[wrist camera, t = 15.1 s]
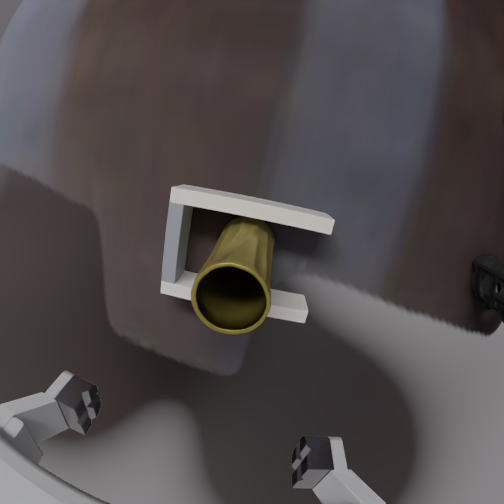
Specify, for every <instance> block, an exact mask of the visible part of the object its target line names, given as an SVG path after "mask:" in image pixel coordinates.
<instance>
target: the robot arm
mask: <svg viewBox="0 0 504 504" xmlns="http://www.w3.org/2000/svg"><path fill="white" fill-rule="evenodd" d="M97 392H98V388H97V386H96V385H94V384H92V383H90V382H88V381H86V380H84V379H82V378H80V377H77V376H76V375H74V374H72V373H70V372H67V371H65V372H63V373H62V374H61V375H60V376H59V377H58V378H57V379H56V381H55V382H54V383H53V384H52V385H51V386H50V388H49V389H48V390H47V391H46V393H43V392H41V393H37V394H34V395H31V396H27V397H25V398H21V399H17V400H14V401H10V402H7V403H3V404H0V504H110V503H107V502H105V501H103V500H101V499H98V498H96V497H94V496H92V495H90V494H88V493H86V492H84V491H82V490H80V489H78V488H76V487H75V486H73V485H71V484H69V483H68V482H66V481H64V480H62V479H61V478H59V477H57V476H56V475H54V474H52V473H51V472H49V471H48V470H46V469H45V468H43V467H42V466H40V465H39V464H38V463H39V461H40V460H41V458H42V456H43V452H42V450H41V449H40V447H39V446H38V445H37V443H39V442H41V441H43V440H45V439H47V438H49V437H52V436H54V435H56V434H58V433H60V432H62V431H64V430H66V429H68V427H70V428H71V429H73V430H76V431H77V432H80V433H82V434H84V435H86V433H87V431H88V430H89V428H90V427H91V425H92V423H91V419H93V418H96V417H97V415H98V413H99V411H100V408H101V400H100V397H99V396H98V395H97ZM292 467H293V468H294V469H295V471H294V472H293V474H292V488H309V489H312V490H313V491H314V492H315V494H316V495H317V497H318V498H319V500H320V501H321V502H322V503H323V504H386V503H385V502H384V501H383V500H382V499H381V498H380V497H379V496H378V495H377V494H375V492H373V491H372V490H371V489H370V488H369V487H368V486H367V485H366V484H365V483H364V482H363V481H362V480H361V479H360V478H359V477H358V476H357V475H356V474H355V473H354V472H353V471H352V470H348V469H347V463H346V458H345V453H344V448H343V442H342V439H341V438H340V437H325V436H323V437H322V436H302V437H301V439H300V444H299V445H297V446H296V447H295V449H294V451H293V454H292Z"/></svg>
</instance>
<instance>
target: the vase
mask: <svg viewBox="0 0 504 504" xmlns="http://www.w3.org/2000/svg"><path fill="white" fill-rule="evenodd" d="M274 247H275V239H274V235H273V233H272V231H271V229H270V227H269V226H268V225H267V224H266V223H265V222H264V221H262V220H260V219H255V218H251V217H246V216H242V217H238V218H235V219H233V220H231V221H230V222H229V223H228V224H227V225H226V226H225V227H224V228H223V230H222V233H221V235H220V238H219V239H218V242H217V244H216V246H215V248H214V250H213V252H212V253H211V255H210V256H209V258H208V260H207V261H206V262H205V264H204V265H203V267H202V268H201V270H200V271H199V273H198V274H197V276H196V278H195V281H194V284H193V287H192V290H191V301H192V305H193V308H194V310H195V312H196V314H197V316H198V317H199V319H200V320H201V321H202V322H203V323H204V324H205V325H207V326H208V327H210V328H211V329H213V330H215V331H217V332H221V333H225V334H242V333H246V332H250V331H252V330H254V329H255V328H257V327H258V326H259V325H261V324H262V322H263V321H264V320H265V318H266V317H267V315H268V313H269V310H270V307H271V269H272V258H273V251H274Z"/></svg>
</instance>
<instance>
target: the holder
mask: <svg viewBox="0 0 504 504" xmlns="http://www.w3.org/2000/svg"><path fill="white" fill-rule="evenodd" d="M473 262H474V268H475V275H474V287H475V300H476V301H477V302H479V303H480V304H481V305H482V306H484V307H485V308H486V309H487V310H490V309H495V310H496V311H498V312H500V319H501V320H502V321H503V323H504V264H503V262H502V261H501V260H500V259H499V258H498V257H496V256H494V255H491V254H488V255H482V256H479V257H478V258H476V259H475V260H474V261H473ZM486 266H487V267H486ZM482 274H484V277H483V279H482ZM498 282H499V285H500V292H499V293H498V292H497V285H498ZM488 295H489V296H488Z"/></svg>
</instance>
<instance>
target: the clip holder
mask: <svg viewBox="0 0 504 504" xmlns="http://www.w3.org/2000/svg"><path fill="white" fill-rule="evenodd" d="M193 206H194V207H199V208H205V209H210V210H215V211H220V212H225V213H231V214H236V215H241V216H246V217H251V218H255V219H260V220H265V221H270V222H275V223H279V224H284V225H289V226H293V227H298V228H302V229H307V230H311V231H316V232H320V233H325V234H329V235H331V233H332V229H333V225H334V221H335V220H334V219H333V218H332V217H330V216H329V215H328V214H327V213H323V212H319V211H315V210H310V209H306V208H302V207H297V206H293V205H288V204H284V203H279V202H274V201H270V200H265V199H260V198H255V197H250V196H245V195H240V194H235V193H229V192H224V191H219V190H213V189H207V188H202V187H196V186H190V185H179V186H175V187H172V189H171V195H170V203H169V210H168V218H167V226H166V235H165V245H164V255H163V267H162V279H161V293H163V294H167V295H171V296H175V297H179V298H183V299H187V300H191V290H192V287H193V284H194V281H195V278H196V276H197V274H198V273H193V272H189V271H185V264H186V256H187V248H188V240H189V233H190V226H191V219H192V212H193ZM307 314H308V308H307V304H306V300H305V296H304V295H300V294H295V293H290V292H285V291H279V290H274V289H271V307H270V310H269V313H268V315H267V317H273V318H277V319H283V320H288V321H294V322H301V323H305V320H306V317H307Z"/></svg>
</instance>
